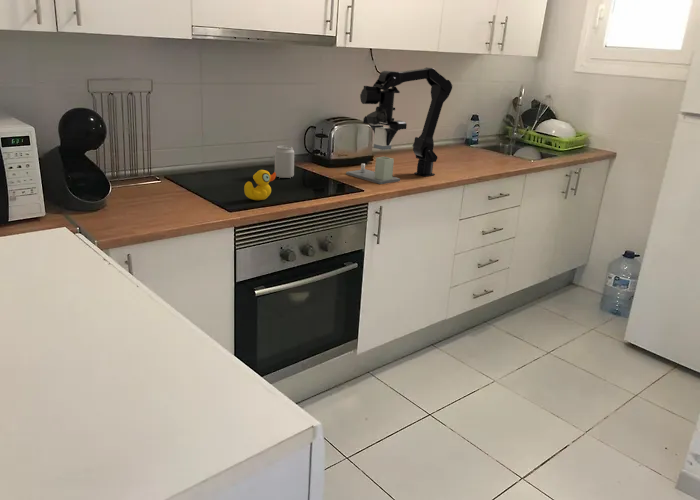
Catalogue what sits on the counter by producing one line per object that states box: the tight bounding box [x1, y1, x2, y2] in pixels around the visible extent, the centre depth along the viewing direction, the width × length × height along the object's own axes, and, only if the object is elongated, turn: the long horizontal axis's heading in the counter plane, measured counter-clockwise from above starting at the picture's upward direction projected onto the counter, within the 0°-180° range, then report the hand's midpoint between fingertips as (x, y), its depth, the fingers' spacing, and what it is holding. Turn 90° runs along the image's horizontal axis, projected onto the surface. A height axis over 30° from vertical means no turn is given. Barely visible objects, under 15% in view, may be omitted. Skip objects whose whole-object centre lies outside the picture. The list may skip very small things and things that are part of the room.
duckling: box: [243, 169, 277, 201], centre depth 193 cm, size 11×5×10 cm, turn 125°
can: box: [274, 145, 295, 179], centre depth 226 cm, size 8×8×12 cm
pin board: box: [345, 156, 401, 185], centre depth 234 cm, size 11×20×9 cm, turn 42°
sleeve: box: [373, 126, 393, 151], centre depth 232 cm, size 5×5×8 cm
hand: (382, 144), depth 233 cm, fingers closed on sleeve, 5 cm apart
